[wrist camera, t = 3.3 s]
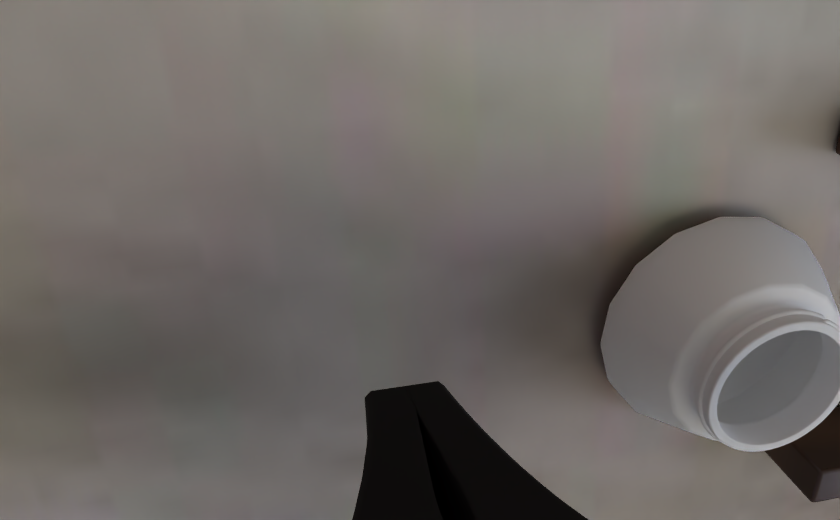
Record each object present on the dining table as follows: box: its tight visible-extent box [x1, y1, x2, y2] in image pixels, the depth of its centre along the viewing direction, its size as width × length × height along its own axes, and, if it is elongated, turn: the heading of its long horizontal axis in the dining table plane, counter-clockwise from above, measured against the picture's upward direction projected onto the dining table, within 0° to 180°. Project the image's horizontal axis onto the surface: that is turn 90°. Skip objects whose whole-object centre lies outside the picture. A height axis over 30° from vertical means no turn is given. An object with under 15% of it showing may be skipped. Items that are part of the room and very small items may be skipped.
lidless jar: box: [600, 217, 840, 452], centre depth 15 cm, size 5×3×5 cm
